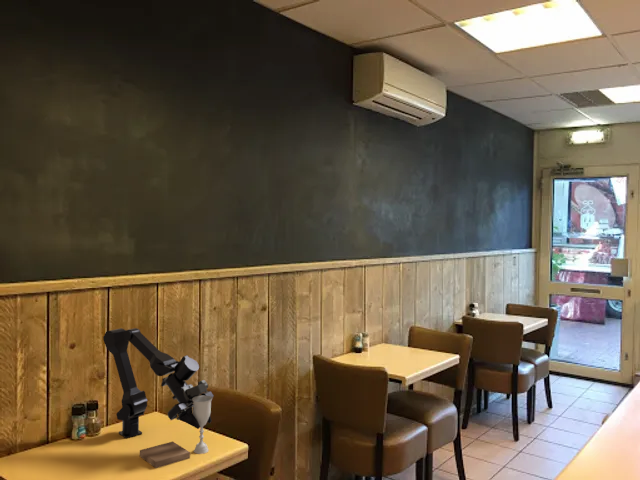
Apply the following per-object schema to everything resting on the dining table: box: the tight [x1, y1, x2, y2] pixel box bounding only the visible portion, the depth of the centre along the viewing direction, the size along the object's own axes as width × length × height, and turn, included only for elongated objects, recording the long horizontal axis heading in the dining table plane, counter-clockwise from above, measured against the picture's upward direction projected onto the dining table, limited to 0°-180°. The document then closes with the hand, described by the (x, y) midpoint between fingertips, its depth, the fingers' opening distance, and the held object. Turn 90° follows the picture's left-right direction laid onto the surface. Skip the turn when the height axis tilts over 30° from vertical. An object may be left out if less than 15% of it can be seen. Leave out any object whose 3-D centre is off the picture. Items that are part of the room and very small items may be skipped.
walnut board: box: [139, 441, 191, 469], centre depth 182 cm, size 12×12×2 cm
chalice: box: [192, 394, 213, 455], centre depth 188 cm, size 7×7×18 cm
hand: (204, 425), depth 187 cm, fingers closed on chalice, 6 cm apart
